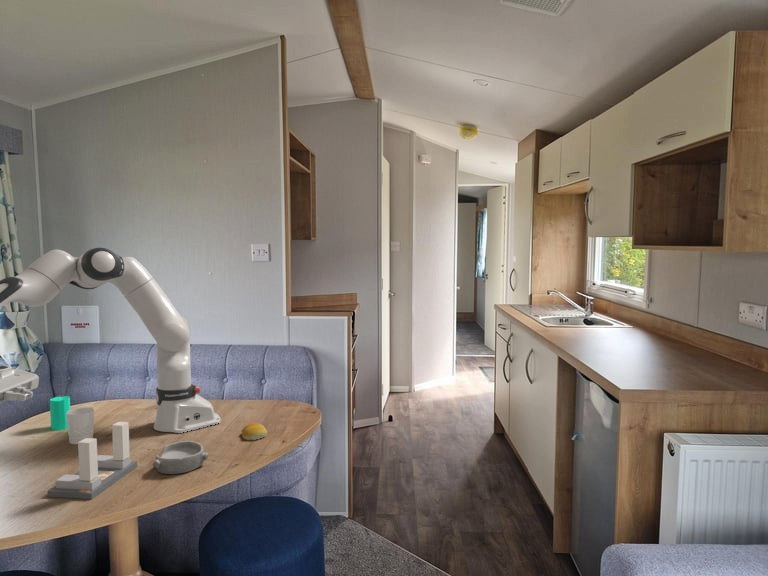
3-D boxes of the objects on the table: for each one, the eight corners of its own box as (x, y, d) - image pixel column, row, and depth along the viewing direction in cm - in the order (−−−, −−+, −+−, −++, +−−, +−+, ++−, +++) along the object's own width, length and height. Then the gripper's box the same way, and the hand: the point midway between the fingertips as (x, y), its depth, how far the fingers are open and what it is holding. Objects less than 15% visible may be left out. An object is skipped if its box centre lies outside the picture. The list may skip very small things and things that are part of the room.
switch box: (47, 496, 134) (47, 483, 133) (98, 464, 154) (98, 452, 153) (91, 499, 132) (91, 485, 132) (137, 466, 152) (136, 454, 152)
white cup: (64, 441, 171) (62, 411, 170) (90, 434, 177) (89, 405, 176) (71, 447, 166) (70, 416, 165) (98, 440, 172) (97, 411, 171)
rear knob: (113, 459, 147) (112, 425, 147) (119, 455, 150) (118, 421, 150) (123, 460, 147) (122, 425, 146) (129, 456, 150) (128, 422, 149)
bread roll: (243, 442, 172) (243, 430, 172) (240, 433, 180) (240, 422, 180) (268, 439, 175) (268, 427, 174) (265, 430, 183) (265, 419, 183)
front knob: (79, 480, 135) (78, 442, 134) (87, 475, 138) (85, 438, 137) (90, 480, 134) (89, 442, 133) (98, 475, 137) (96, 438, 136)
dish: (154, 479, 144) (154, 462, 144) (154, 460, 157) (154, 444, 157) (209, 471, 150) (209, 454, 150) (205, 453, 163) (205, 437, 162)
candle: (74, 425, 186) (73, 391, 185) (63, 430, 180) (61, 396, 179) (59, 424, 187) (57, 391, 186) (46, 430, 181) (45, 396, 180)
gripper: (-55, 385, 128) (-3, 398, 127) (11, 363, 149) (57, 374, 148) (-58, 409, 129) (-6, 422, 128) (9, 384, 149) (54, 395, 149)
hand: (28, 396), depth 138 cm, fingers closed
